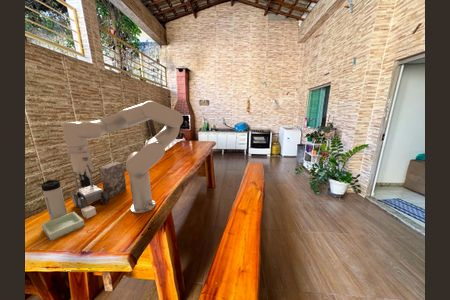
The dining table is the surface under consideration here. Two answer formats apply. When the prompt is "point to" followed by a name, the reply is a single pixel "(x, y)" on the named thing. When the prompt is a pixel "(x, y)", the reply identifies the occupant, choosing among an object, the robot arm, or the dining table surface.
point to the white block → (88, 211)
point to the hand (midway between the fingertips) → (86, 186)
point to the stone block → (113, 178)
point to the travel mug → (54, 199)
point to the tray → (62, 225)
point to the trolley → (88, 194)
